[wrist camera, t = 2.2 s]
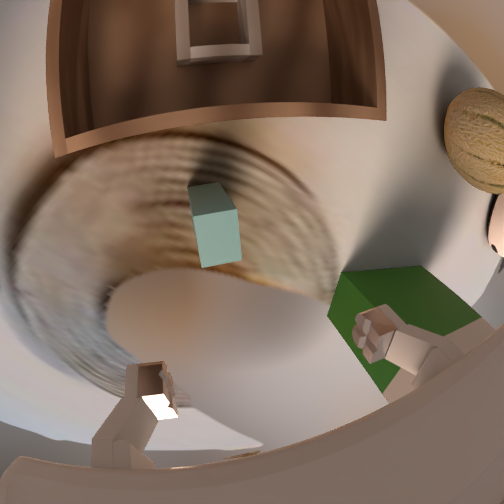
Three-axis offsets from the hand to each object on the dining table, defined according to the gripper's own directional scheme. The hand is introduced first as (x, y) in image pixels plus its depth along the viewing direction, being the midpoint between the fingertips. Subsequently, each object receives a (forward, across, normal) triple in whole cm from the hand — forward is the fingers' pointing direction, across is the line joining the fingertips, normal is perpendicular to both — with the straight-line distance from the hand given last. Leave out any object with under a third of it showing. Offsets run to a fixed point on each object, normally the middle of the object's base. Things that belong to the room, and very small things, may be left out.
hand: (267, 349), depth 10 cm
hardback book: (+19, -24, +17) cm, 35 cm away
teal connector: (+18, 0, 0) cm, 18 cm away
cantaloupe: (+19, -36, -8) cm, 41 cm away
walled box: (+18, -2, -17) cm, 25 cm away
